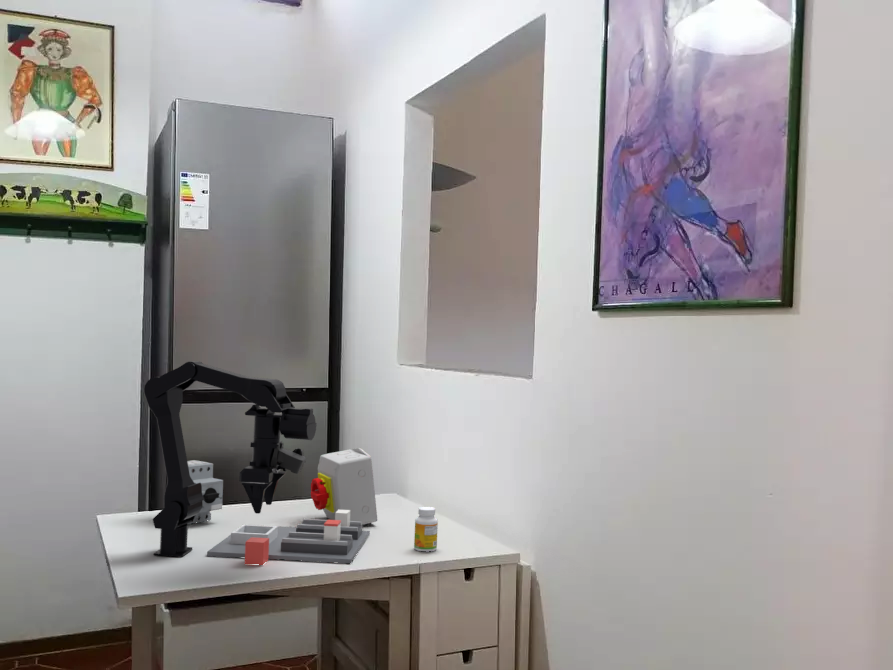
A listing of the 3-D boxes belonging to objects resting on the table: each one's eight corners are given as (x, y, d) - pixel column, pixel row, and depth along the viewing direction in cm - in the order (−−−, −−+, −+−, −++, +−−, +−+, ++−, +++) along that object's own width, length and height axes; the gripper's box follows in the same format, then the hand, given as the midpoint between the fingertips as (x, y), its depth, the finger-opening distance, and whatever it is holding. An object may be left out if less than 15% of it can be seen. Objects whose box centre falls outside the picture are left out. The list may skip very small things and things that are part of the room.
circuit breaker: (200, 529, 202) (203, 469, 203) (167, 520, 211) (169, 462, 211) (225, 524, 208) (227, 466, 209) (192, 515, 217) (194, 459, 217)
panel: (350, 564, 176) (351, 546, 176) (207, 556, 178) (207, 538, 178) (369, 535, 203) (370, 519, 203) (244, 528, 205) (245, 513, 205)
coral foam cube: (263, 566, 172) (263, 542, 172) (244, 565, 172) (245, 541, 172) (268, 561, 176) (269, 538, 176) (250, 560, 176) (251, 537, 176)
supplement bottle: (410, 547, 193) (412, 506, 193) (432, 545, 195) (433, 505, 195) (418, 552, 188) (419, 511, 188) (439, 551, 190) (441, 510, 190)
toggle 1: (336, 543, 181) (337, 524, 181) (323, 542, 182) (324, 523, 182) (340, 539, 185) (341, 520, 186) (327, 538, 186) (327, 519, 186)
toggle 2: (346, 529, 195) (347, 513, 195) (334, 528, 196) (335, 512, 196) (349, 525, 199) (350, 510, 199) (337, 524, 200) (338, 509, 200)
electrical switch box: (306, 526, 219) (299, 453, 218) (358, 514, 226) (350, 444, 225) (324, 539, 206) (316, 461, 205) (378, 526, 213) (370, 451, 212)
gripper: (293, 444, 166) (290, 520, 166) (312, 434, 185) (308, 502, 185) (240, 441, 166) (236, 517, 166) (264, 431, 185) (260, 499, 185)
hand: (263, 508), depth 175 cm, fingers open, 9 cm apart
